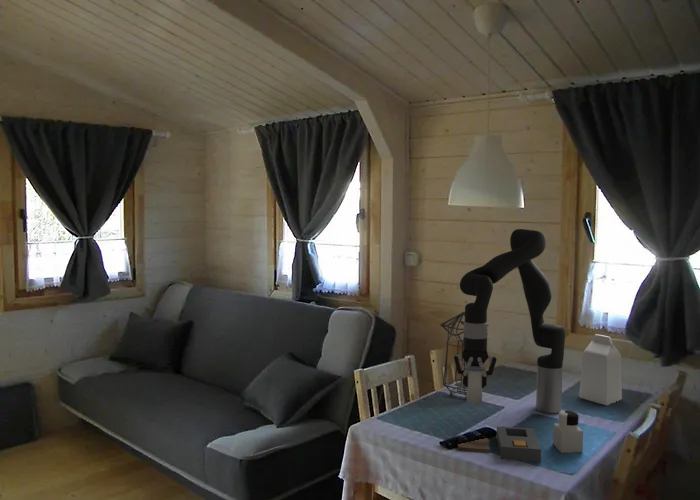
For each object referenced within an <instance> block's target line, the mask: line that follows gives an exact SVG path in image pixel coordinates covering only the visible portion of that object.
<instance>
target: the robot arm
mask: <svg viewBox="0 0 700 500" xmlns="http://www.w3.org/2000/svg"><path fill="white" fill-rule="evenodd" d="M509 242H510V243H509V244H510V251H506V252H504V253H501V254H498V255H496V256H494V257H493V258H492V259H490V260H489V261H488V262H486V263H485V264H484V265H482V266H479V267H476V268H474V269H472V270H470V271H468V272H466V273H465V274H463V276H462V277H461V279H460V282H459V289H460V291H461V292H462V293H463V294H465V295H467V296H473V297H476V298H475V300H474V302H469V303H467V304H466V305H465V307H464V312H465V316H464V322H465V323H463V324H464V325H463V329H464V330H463V331H464V333H462V334H463V339H464V341H463V352H462V351H461V353H460V354H459V353H458V355H457V353H456V354H454V355H453V359H454V363H455V369H456V368H457V374H459V375H461V374H462V380H463V381H462V385H465V388H467V380H468V376H467V373H468V370H469V366H480V367H481V370H482V389H484V388H485V387H486V386H487V381H488V380H487V378H488V376H492V375H493V374H494V369H495V366H496V363H497V357H496V356H495V355H489V353H488V334H489V333H488V326H487V325H488V324H487V322H488V319H487V318H488V307H489V305H490V300H491V297H492V294H493V291H494V285H493V284H497V283H498V282H500V281H501V279H503V278H505V276H506V275H508V274H509V273H510V272H512V271H513V270H515V269H518V272H519V276H520V279H521V283H522V284H521V285H522V288H523V293H524V297H525V300H526V303H527V308H528V311H529V312H528V313H529V317H530V318H529V319H530V324H531V332H532V338H533V342H534V343H535V345H536V346H538V347H540V348H545V349H551V352H550V353H549V354H545V355H544V354H543V355H540V356H538V357H537V360H536V397H535V409H536V410H537V411H539V412H542V413H546V414H557V413H558V414H559V412H561V411H562V402H563V401H562V399H563V398H562V396H563V395H562V394H563V392H562V391H563V390H562V389H563V366H564V365H563V362H564V359H565V358H564V355H565V346H566V345H565V342H566V330H565V328H564V327H563V326H562V325H561V324H560V325H559V324H551V323H546V322H545V321H544V314H545V312H546V310H547V308H548V307H549V306H550V303H551V300H552V292H551V288H550V283H549V280H548V279H547V277H546V275H545V274H544V273H543V272H542V270H541V269H540V268H539V267H538V266H537V265H536V263H534V261H533V260H534V259H536V258H537V257H539V256H540V255H542V253H543V252H544V251H545V249H546V246H547V237H546V235H545V234H544V232H542V231H539V230H534V229H526V228H516V229H514V230H513V231H512V233H511V234H510V239H509ZM462 357H463V361H464V360H465V368H464V367H463V370H462V369H461V363H460V362H462ZM487 360H488V362H489V363H490V364H489V367H488V370H486V368H485V365H484V364H485V363H486V362H487Z"/></svg>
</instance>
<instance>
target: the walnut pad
mask: <svg viewBox="0 0 700 500" xmlns="http://www.w3.org/2000/svg"><path fill="white" fill-rule="evenodd" d="M458 436H462V435H459V434H458V435H457V437H458ZM457 450H458V451H461V452H462V451H464V452H476V453H477V452H478V453H479V452H480V453H490V452H491V447H490V441H489V437H488V438H484V439H479V440H475V441H471V442H466V443H461V444H458V443H457Z"/></svg>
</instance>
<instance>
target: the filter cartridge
mask: <svg viewBox="0 0 700 500" xmlns="http://www.w3.org/2000/svg"><path fill="white" fill-rule="evenodd" d="M482 375H483V374H482V370H481V367H480V366H469V370H468V373H467V376H468V380H467V387H466V388H467V389H466V390H467V391H466V392H467V393H466V394H467V395H466V399H467V400H466V402H467V403H470V404H475V405H476V404H477V405H478V404H481V403H482V402H483V388H482Z"/></svg>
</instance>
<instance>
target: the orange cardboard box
mask: <svg viewBox="0 0 700 500" xmlns="http://www.w3.org/2000/svg"><path fill="white" fill-rule="evenodd" d="M513 446H514V447H527V446H526V442H525V441H517V440H513Z"/></svg>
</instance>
